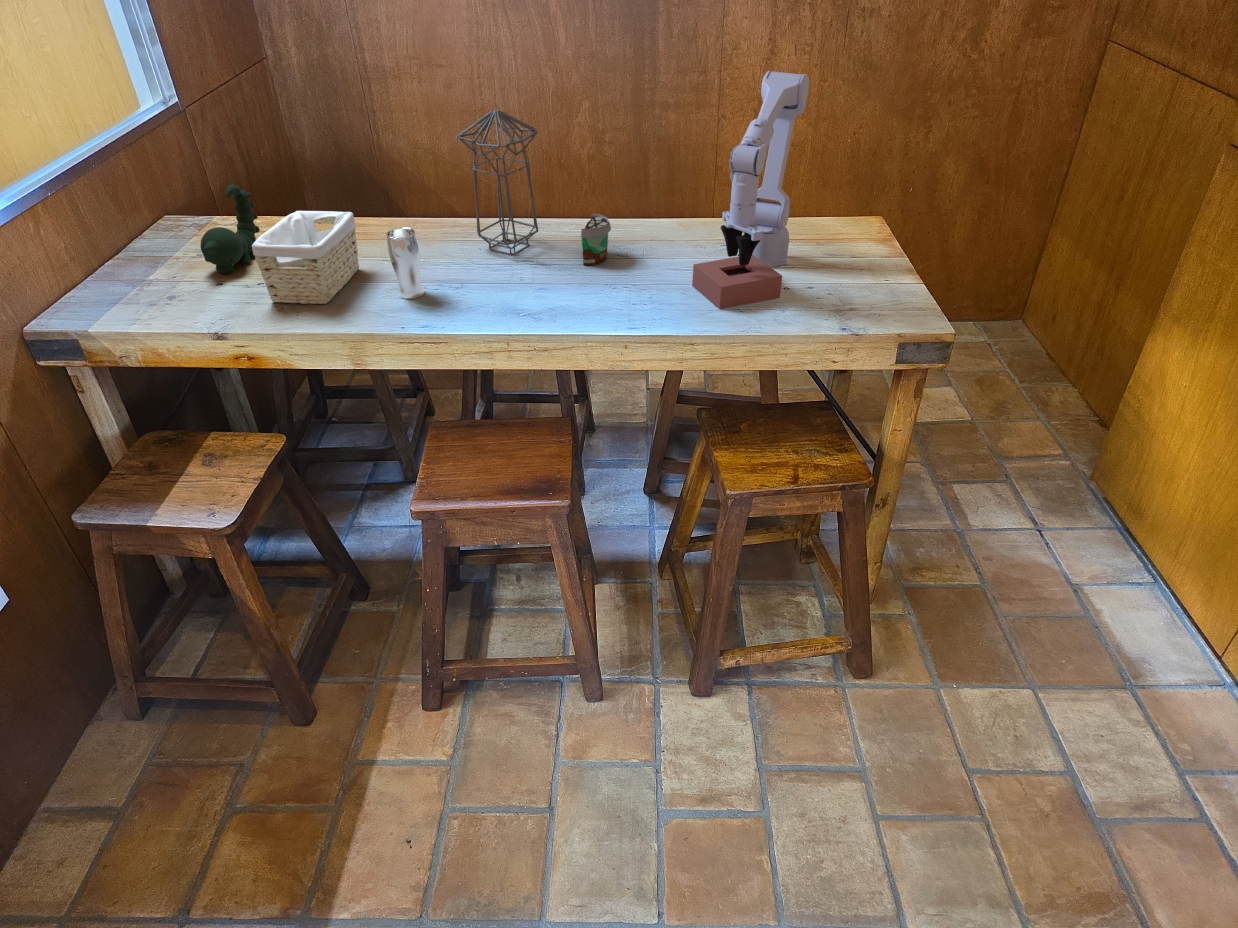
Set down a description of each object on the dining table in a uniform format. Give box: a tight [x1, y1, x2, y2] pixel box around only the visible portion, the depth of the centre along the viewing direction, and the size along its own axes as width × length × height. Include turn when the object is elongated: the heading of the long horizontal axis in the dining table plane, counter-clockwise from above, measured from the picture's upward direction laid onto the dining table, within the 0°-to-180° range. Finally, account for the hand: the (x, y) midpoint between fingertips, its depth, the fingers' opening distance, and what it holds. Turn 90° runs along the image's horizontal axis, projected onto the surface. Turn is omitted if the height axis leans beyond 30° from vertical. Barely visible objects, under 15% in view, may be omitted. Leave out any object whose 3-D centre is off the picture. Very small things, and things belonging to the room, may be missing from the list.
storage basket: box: [252, 210, 360, 305], centre depth 187 cm, size 24×16×15 cm
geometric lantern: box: [455, 109, 539, 256], centre depth 200 cm, size 16×16×35 cm
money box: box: [691, 255, 783, 310], centre depth 186 cm, size 16×14×6 cm
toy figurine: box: [200, 184, 260, 275], centre depth 197 cm, size 9×19×25 cm
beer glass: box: [385, 227, 425, 300], centre depth 183 cm, size 7×7×15 cm
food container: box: [580, 213, 612, 267], centre depth 201 cm, size 12×6×10 cm, turn 168°
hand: (738, 260), depth 183 cm, fingers open, 5 cm apart
